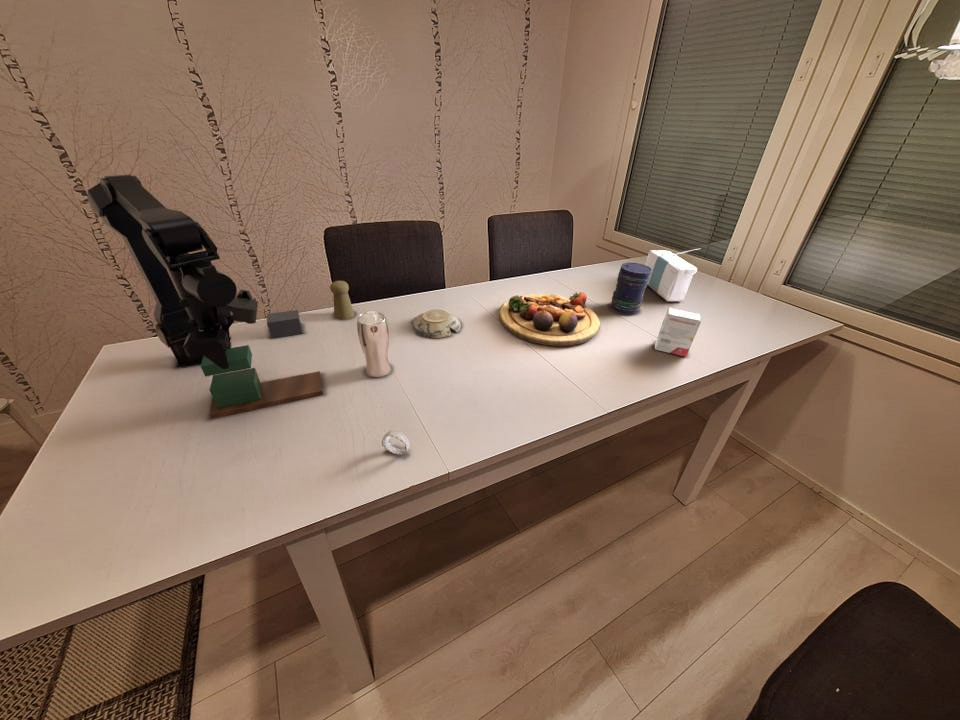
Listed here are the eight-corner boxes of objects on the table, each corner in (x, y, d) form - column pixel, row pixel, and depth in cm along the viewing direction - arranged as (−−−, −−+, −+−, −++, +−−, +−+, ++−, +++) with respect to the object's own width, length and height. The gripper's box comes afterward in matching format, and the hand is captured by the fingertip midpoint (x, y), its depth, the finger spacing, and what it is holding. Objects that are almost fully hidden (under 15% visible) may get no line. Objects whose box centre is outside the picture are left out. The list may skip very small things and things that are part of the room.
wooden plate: (567, 296, 136) (571, 274, 132) (619, 339, 112) (627, 315, 107) (485, 304, 127) (487, 282, 122) (523, 354, 102) (526, 328, 98)
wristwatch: (389, 443, 73) (386, 425, 71) (412, 450, 72) (410, 431, 69) (382, 454, 71) (379, 436, 68) (405, 461, 70) (403, 442, 67)
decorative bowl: (426, 311, 121) (402, 331, 110) (426, 300, 119) (401, 319, 108) (468, 321, 117) (447, 343, 105) (468, 310, 115) (447, 332, 103)
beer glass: (367, 381, 89) (359, 327, 81) (361, 366, 94) (352, 313, 86) (396, 374, 92) (390, 321, 84) (388, 360, 97) (382, 308, 89)
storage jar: (641, 307, 131) (655, 266, 123) (635, 317, 124) (648, 275, 116) (614, 300, 135) (624, 260, 127) (606, 309, 128) (617, 268, 120)
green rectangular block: (205, 376, 73) (200, 366, 72) (209, 361, 77) (204, 351, 76) (250, 368, 76) (247, 358, 75) (252, 354, 80) (248, 344, 79)
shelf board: (210, 418, 77) (208, 414, 76) (215, 395, 83) (213, 391, 82) (323, 394, 85) (322, 390, 84) (320, 375, 91) (319, 371, 90)
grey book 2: (271, 338, 103) (269, 330, 102) (271, 329, 107) (269, 321, 106) (302, 333, 106) (300, 326, 105) (301, 324, 110) (299, 317, 109)
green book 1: (213, 399, 76) (209, 390, 75) (217, 384, 80) (212, 374, 79) (257, 391, 79) (253, 381, 78) (258, 376, 83) (255, 367, 82)
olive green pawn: (348, 320, 113) (342, 287, 107) (330, 318, 114) (323, 284, 108) (357, 312, 118) (352, 279, 112) (340, 309, 119) (334, 277, 113)
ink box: (686, 349, 109) (701, 313, 102) (686, 357, 105) (702, 321, 98) (655, 341, 112) (668, 306, 105) (654, 349, 108) (667, 313, 101)
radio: (638, 281, 152) (654, 231, 141) (657, 281, 153) (674, 232, 142) (665, 303, 135) (684, 249, 124) (685, 303, 136) (707, 249, 125)
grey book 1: (269, 330, 102) (266, 322, 100) (269, 321, 106) (267, 313, 104) (300, 326, 105) (298, 318, 103) (299, 317, 109) (297, 309, 107)
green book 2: (218, 408, 77) (213, 399, 76) (221, 392, 82) (217, 384, 80) (260, 400, 80) (257, 391, 79) (261, 385, 85) (258, 376, 83)
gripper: (244, 304, 63) (270, 377, 72) (250, 267, 77) (271, 332, 86) (165, 314, 59) (202, 390, 68) (186, 273, 73) (215, 341, 82)
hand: (227, 360), depth 76 cm, fingers closed on green rectangular block, 5 cm apart
